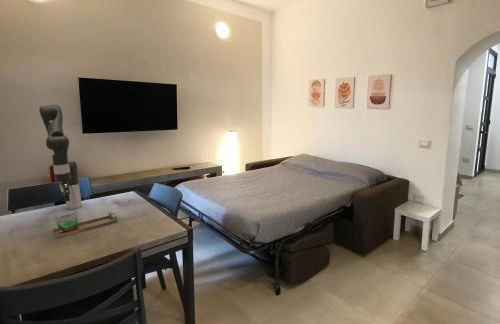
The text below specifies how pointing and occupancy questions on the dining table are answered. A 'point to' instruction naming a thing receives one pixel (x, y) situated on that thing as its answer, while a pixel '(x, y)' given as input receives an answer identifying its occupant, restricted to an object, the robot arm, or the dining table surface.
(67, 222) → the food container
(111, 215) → the guide channel
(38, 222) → the dining table surface
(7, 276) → the dining table surface
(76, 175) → the robot arm
